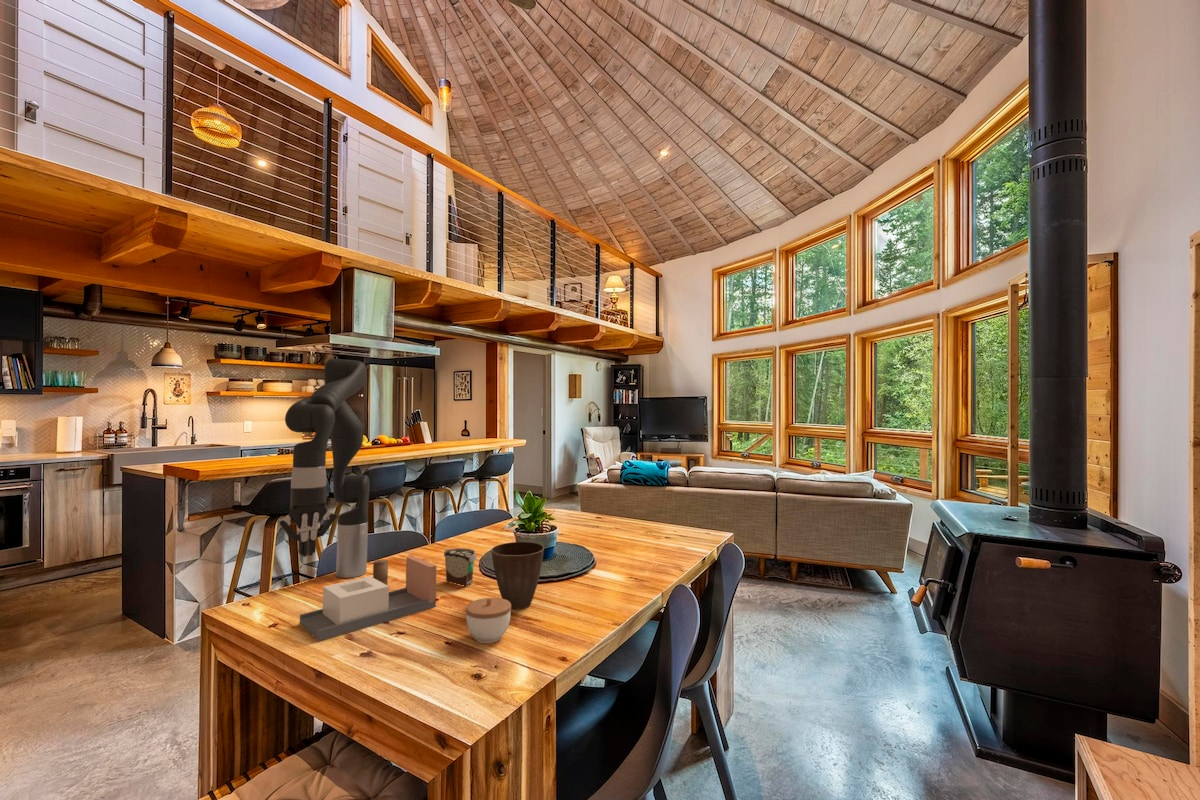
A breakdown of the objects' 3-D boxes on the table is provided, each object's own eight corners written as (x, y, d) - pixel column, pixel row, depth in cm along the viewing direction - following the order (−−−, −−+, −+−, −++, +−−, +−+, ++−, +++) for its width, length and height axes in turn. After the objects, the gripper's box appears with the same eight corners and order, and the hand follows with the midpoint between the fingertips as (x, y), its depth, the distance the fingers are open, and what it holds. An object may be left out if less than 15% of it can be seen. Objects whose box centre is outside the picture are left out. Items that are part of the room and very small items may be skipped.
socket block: (322, 613, 130) (323, 586, 130) (369, 601, 138) (369, 576, 139) (339, 627, 121) (340, 598, 122) (388, 613, 130) (388, 586, 130)
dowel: (370, 595, 147) (371, 561, 148) (383, 592, 150) (384, 558, 151) (376, 599, 145) (376, 564, 145) (389, 595, 148) (390, 561, 148)
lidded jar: (463, 632, 123) (463, 593, 123) (506, 625, 127) (506, 588, 127) (468, 651, 113) (469, 609, 113) (514, 643, 117) (515, 603, 117)
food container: (484, 582, 160) (484, 551, 160) (469, 588, 154) (470, 555, 155) (457, 576, 166) (458, 546, 167) (443, 581, 161) (443, 550, 161)
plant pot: (496, 618, 131) (497, 557, 132) (485, 599, 145) (486, 544, 146) (550, 610, 138) (551, 552, 138) (534, 592, 151) (535, 539, 152)
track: (299, 624, 126) (301, 578, 127) (411, 594, 148) (412, 555, 149) (318, 641, 117) (320, 592, 117) (435, 606, 139) (436, 565, 139)
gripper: (332, 481, 130) (330, 547, 129) (272, 485, 120) (270, 558, 119) (343, 483, 125) (341, 553, 124) (282, 489, 115) (279, 564, 114)
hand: (306, 555), depth 122 cm, fingers closed
